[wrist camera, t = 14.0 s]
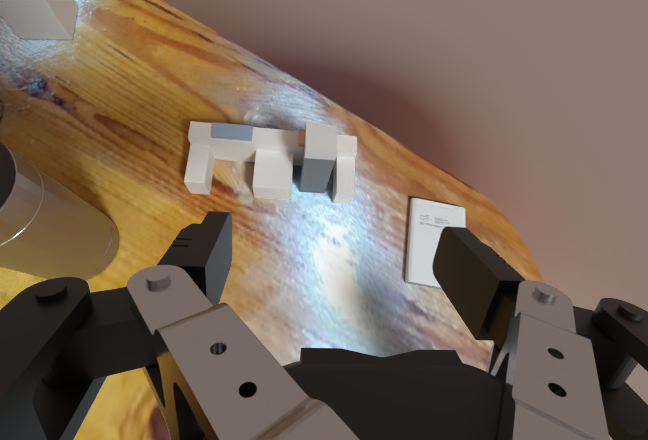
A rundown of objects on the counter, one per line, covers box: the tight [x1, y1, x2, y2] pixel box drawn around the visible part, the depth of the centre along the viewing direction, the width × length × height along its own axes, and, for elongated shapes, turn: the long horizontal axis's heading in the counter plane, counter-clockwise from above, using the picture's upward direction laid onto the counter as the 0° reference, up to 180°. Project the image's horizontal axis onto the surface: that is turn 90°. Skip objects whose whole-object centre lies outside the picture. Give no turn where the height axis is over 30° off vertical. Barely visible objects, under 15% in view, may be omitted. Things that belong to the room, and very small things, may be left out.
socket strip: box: [184, 121, 357, 204], centre depth 44 cm, size 22×8×6 cm, turn 89°
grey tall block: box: [300, 123, 337, 193], centre depth 42 cm, size 4×4×11 cm
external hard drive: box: [405, 198, 465, 290], centre depth 46 cm, size 2×8×12 cm
